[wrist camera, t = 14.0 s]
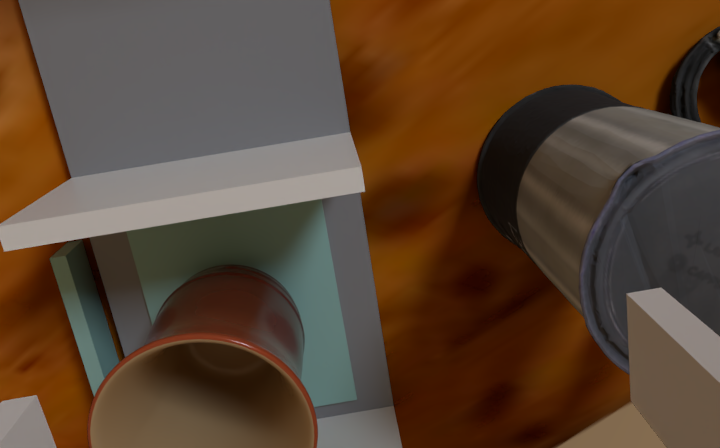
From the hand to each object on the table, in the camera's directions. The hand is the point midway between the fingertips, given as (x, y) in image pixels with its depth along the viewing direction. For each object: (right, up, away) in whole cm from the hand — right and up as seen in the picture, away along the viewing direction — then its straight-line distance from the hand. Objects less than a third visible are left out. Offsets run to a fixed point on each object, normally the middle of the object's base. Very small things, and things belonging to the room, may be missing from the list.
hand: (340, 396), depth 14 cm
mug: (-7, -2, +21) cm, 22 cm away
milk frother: (+15, +9, +20) cm, 26 cm away
